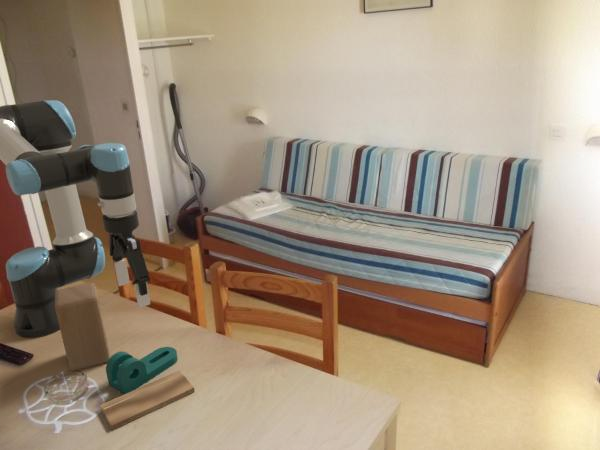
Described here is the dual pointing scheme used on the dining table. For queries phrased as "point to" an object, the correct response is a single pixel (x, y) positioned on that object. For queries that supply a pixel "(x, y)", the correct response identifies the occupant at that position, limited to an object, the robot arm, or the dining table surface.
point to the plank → (146, 399)
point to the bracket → (137, 368)
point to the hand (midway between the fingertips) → (133, 294)
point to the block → (81, 326)
